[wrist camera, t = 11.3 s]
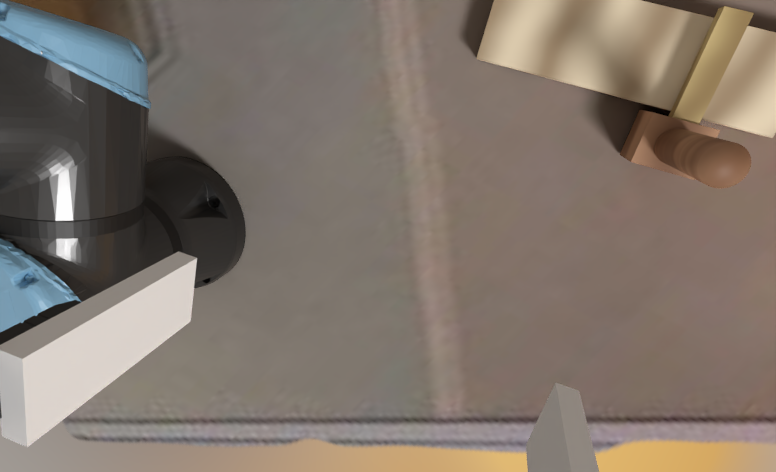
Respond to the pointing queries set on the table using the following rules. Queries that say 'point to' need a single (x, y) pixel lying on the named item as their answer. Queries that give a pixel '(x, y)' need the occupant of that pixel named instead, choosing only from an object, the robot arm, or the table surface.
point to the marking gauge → (695, 116)
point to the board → (633, 54)
